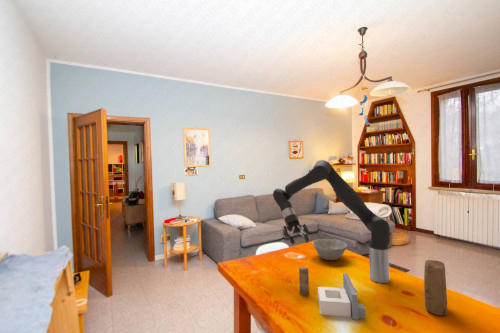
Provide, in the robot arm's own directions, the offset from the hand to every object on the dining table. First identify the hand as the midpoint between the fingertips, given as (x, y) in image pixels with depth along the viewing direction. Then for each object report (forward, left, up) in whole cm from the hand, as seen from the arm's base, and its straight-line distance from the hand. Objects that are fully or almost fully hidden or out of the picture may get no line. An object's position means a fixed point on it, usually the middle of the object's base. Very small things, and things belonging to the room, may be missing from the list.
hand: (300, 242), depth 130 cm
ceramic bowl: (-37, +19, -21) cm, 46 cm away
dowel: (+11, +1, -21) cm, 24 cm away
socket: (+22, +13, -21) cm, 33 cm away
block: (+17, +55, -21) cm, 61 cm away
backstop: (+19, +22, -21) cm, 36 cm away
